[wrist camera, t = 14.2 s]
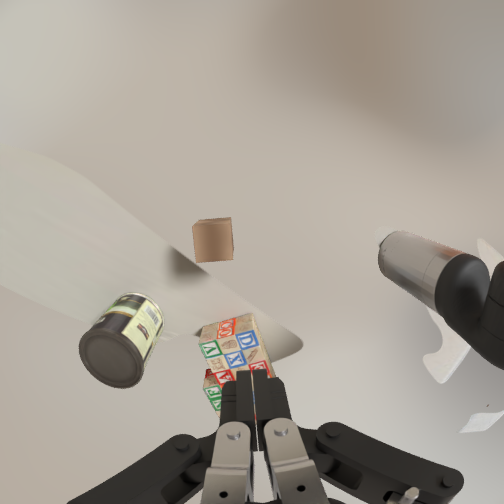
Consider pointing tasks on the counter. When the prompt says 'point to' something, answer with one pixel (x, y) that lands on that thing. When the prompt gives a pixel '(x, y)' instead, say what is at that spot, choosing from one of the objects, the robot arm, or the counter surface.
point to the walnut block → (213, 240)
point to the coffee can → (122, 341)
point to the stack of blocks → (231, 354)
